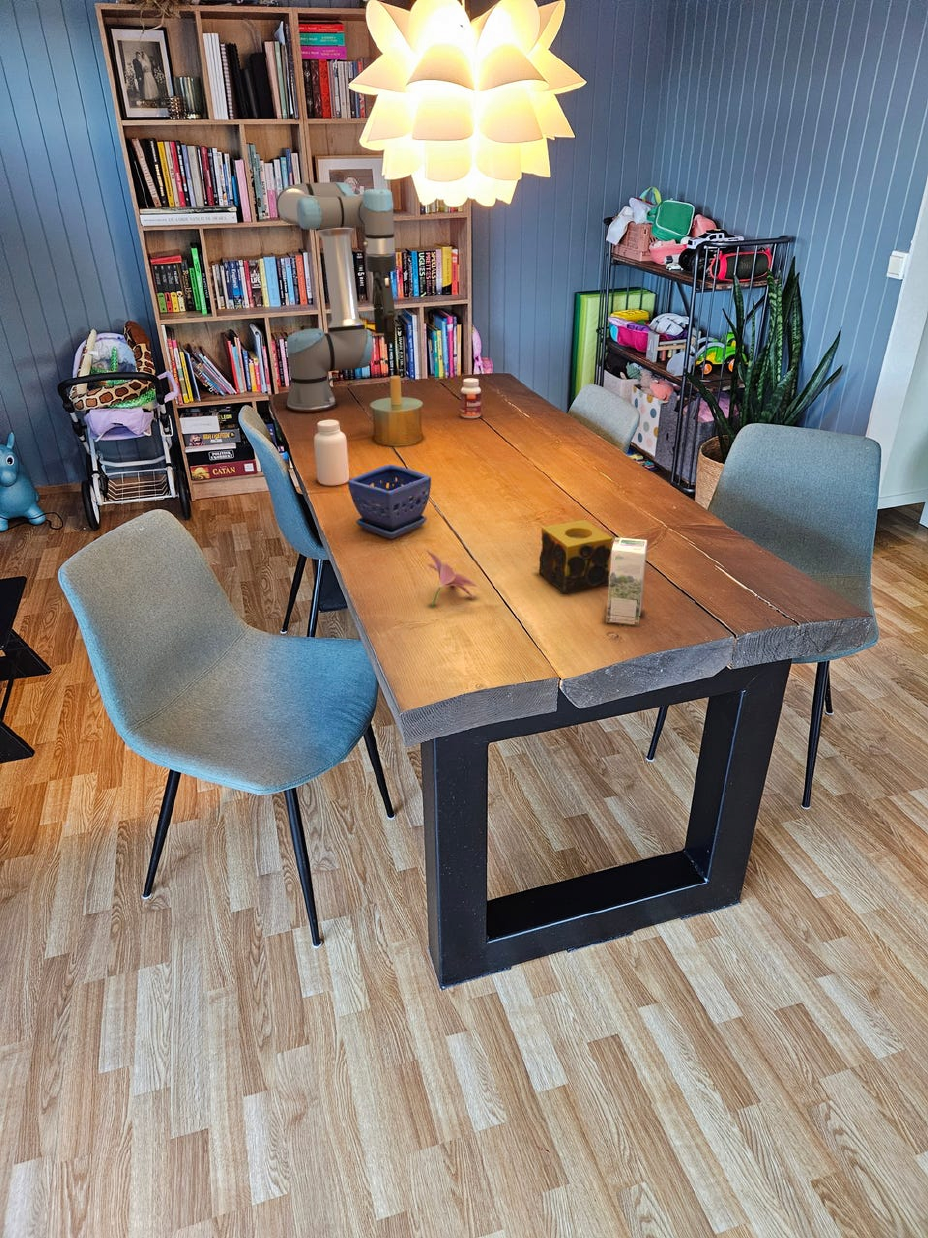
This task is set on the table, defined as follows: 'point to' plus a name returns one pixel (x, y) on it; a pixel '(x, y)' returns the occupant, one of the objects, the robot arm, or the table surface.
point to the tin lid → (396, 400)
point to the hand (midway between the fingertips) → (384, 338)
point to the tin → (397, 428)
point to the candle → (575, 556)
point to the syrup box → (626, 580)
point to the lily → (449, 576)
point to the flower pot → (390, 500)
